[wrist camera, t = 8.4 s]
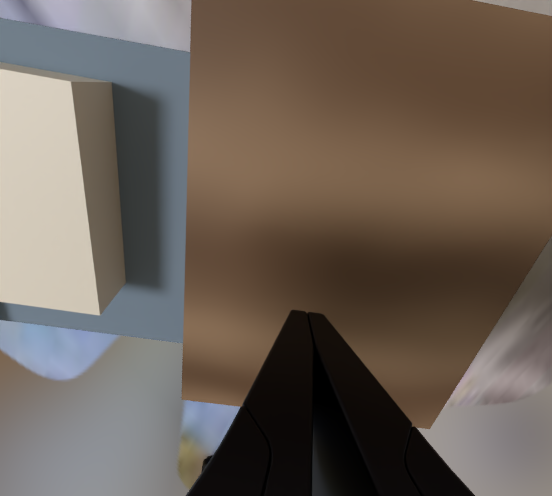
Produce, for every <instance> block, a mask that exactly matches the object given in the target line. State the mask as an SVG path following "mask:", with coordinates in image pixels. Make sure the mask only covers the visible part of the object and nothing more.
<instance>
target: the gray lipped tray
mask: <svg viewBox="0 0 552 496" xmlns="http://www.w3.org/2000/svg"><path fill="white" fill-rule="evenodd" d="M0 62H3V63H9V64H14V65H20V66H25V67H31V68H36V69H42V70H47V71H53V72H59V73H64V74H70V75H75V76H81V77H86V78H92V79H97V80H103V81H108V82H112V95H113V109H114V123H115V137H116V151H117V165H118V179H119V194H120V208H121V222H122V236H123V250H124V264H125V278H126V283H125V285H124V286H123V287H122V288H121V290H120V291H119V292H118V293H117V295H116V296H115V297H114V298H113V300H112V301H111V302H110V304H109V305H108V306H107V307H106V309H105V310H104V311H103V312H102V314H101V315H92V314H85V313H78V312H71V311H63V310H56V309H49V308H42V307H34V306H27V305H20V304H12V303H5V302H0V320H6V321H14V322H22V323H30V324H37V325H45V326H53V327H61V328H68V329H76V330H84V331H92V332H99V333H107V334H115V335H123V336H131V337H139V338H146V339H154V340H162V341H169V342H177V343H183V325H184V285H185V245H186V205H187V165H188V125H189V85H190V52H185V51H179V50H174V49H168V48H163V47H157V46H152V45H146V44H141V43H135V42H129V41H124V40H118V39H113V38H107V37H102V36H96V35H91V34H85V33H80V32H74V31H69V30H63V29H58V28H52V27H46V26H41V25H35V24H30V23H24V22H19V21H13V20H8V19H2V18H0Z"/></svg>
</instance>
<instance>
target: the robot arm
mask: <svg viewBox="0 0 552 496" xmlns="http://www.w3.org/2000/svg"><path fill="white" fill-rule="evenodd" d="M186 496H475V495H474V494H473V493H472V492H471V491H470V490H469V488H468V487H467V486H466V485H465V484H464V483H463V482H462V481H461V480H460V479H459V477H457V475H456V474H455V473H454V472H453V471H452V470H451V469H450V468H449V466H448V465H447V464H446V463H445V462H444V460H443V459H442V458H441V457H440V456H439V455H438V453H437V452H436V451H435V450H434V449H433V447H432V446H431V445H430V444H429V443H428V442H427V440H426V439H425V438H424V437H423V435H422V434H421V433H420V432H419V430H418V429H417V428H416V427H415V426H413V427H412V422H411V421H410V420H409V418H408V417H407V416H406V415H405V413H404V412H403V411H402V410H401V409H400V407H399V406H398V405H397V404H396V402H395V401H394V400H393V399H392V397H391V396H390V395H389V394H388V393H387V391H386V390H385V389H384V388H383V386H382V385H381V384H380V383H379V382H378V380H377V379H376V378H375V377H374V375H373V374H372V373H371V372H370V370H369V369H368V368H367V367H366V366H365V364H364V363H363V362H362V361H361V359H360V358H359V357H358V356H357V355H356V353H355V352H354V351H353V350H352V348H351V347H350V346H349V345H348V343H347V342H346V341H345V340H344V339H343V337H342V336H341V335H340V334H339V332H338V331H337V330H336V329H335V328H334V326H333V325H332V324H331V323H330V321H329V320H328V319H327V318H326V316H325V315H324V314H322V313H315V312H308V313H307V312H305V311H300V310H291V311H290V313H289V315H288V317H287V319H286V321H285V322H284V324H283V326H282V328H281V330H280V332H279V334H278V336H277V338H276V340H275V342H274V344H273V346H272V348H271V350H270V352H269V353H268V355H267V357H266V359H265V361H264V363H263V365H262V367H261V369H260V371H259V373H258V375H257V377H256V379H255V381H254V383H253V384H252V386H251V388H250V390H249V392H248V394H247V396H246V398H245V400H244V402H243V404H242V406H241V407H240V409H239V411H238V413H237V415H236V417H235V419H234V421H233V423H232V424H231V426H230V428H229V430H228V431H227V433H226V435H225V437H224V439H223V440H222V442H221V444H220V446H219V447H218V449H217V450H216V452H215V453H214V455H213V456H212V458H207V459H205V460H204V461H203V466H202V473H201V475H200V476H199V477H198V479H197V480H196V482H195V483H194V485H193V486H192V488H191V489H190V490H189V492H188V493H187V495H186Z"/></svg>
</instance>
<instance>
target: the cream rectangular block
mask: <svg viewBox="0 0 552 496" xmlns="http://www.w3.org/2000/svg"><path fill="white" fill-rule="evenodd" d="M125 283H126V278H125V264H124V250H123V236H122V222H121V208H120V194H119V179H118V165H117V151H116V137H115V123H114V109H113V95H112V82H108V81H103V80H97V79H92V78H86V77H81V76H75V75H70V74H64V73H59V72H53V71H47V70H42V69H36V68H31V67H25V66H20V65H14V64H9V63H3V62H0V302H5V303H12V304H20V305H27V306H34V307H42V308H49V309H56V310H63V311H71V312H78V313H85V314H92V315H101V314H102V312H103V311H104V310H105V309H106V307H107V306H108V305H109V304H110V302H111V301H112V300H113V298H114V297H115V296H116V295H117V293H118V292H119V291H120V290H121V288H122V287H123V286H124V285H125Z"/></svg>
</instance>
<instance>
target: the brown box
mask: <svg viewBox="0 0 552 496" xmlns="http://www.w3.org/2000/svg"><path fill="white" fill-rule="evenodd" d="M551 236H552V16H548V15H543V14H538V13H533V12H528V11H523V10H518V9H513V8H508V7H503V6H498V5H493V4H488V3H483V2H478V1H473V0H192V5H191V45H190V85H189V125H188V165H187V205H186V245H185V285H184V325H183V366H182V369H183V370H182V400H190V401H198V402H207V403H215V404H224V405H232V406H240V407H241V406H242V404H243V402H244V400H245V398H246V396H247V394H248V392H249V390H250V388H251V386H252V384H253V383H254V381H255V379H256V377H257V375H258V373H259V371H260V369H261V367H262V365H263V363H264V361H265V359H266V357H267V355H268V353H269V352H270V350H271V348H272V346H273V344H274V342H275V340H276V338H277V336H278V334H279V332H280V330H281V328H282V326H283V324H284V322H285V321H286V319H287V317H288V315H289V313H290V311H291V310H300V311H305V312H307V313H308V312H315V313H322V314H324V315H325V316H326V318H327V319H328V320H329V321H330V323H331V324H332V325H333V326H334V328H335V329H336V330H337V331H338V332H339V334H340V335H341V336H342V337H343V339H344V340H345V341H346V342H347V343H348V345H349V346H350V347H351V348H352V350H353V351H354V352H355V353H356V355H357V356H358V357H359V358H360V359H361V361H362V362H363V363H364V364H365V366H366V367H367V368H368V369H369V370H370V372H371V373H372V374H373V375H374V377H375V378H376V379H377V380H378V382H379V383H380V384H381V385H382V386H383V388H384V389H385V390H386V391H387V393H388V394H389V395H390V396H391V397H392V399H393V400H394V401H395V402H396V404H397V405H398V406H399V407H400V409H401V410H402V411H403V412H404V413H405V415H406V416H407V417H408V418H409V420H410V421H411V422H412V427H413V426H415V427H417V428H425V429H430V428H431V426H432V424H433V423H434V421H435V420H436V418H437V417H438V415H439V413H440V412H441V410H442V409H443V407H444V405H445V404H446V402H447V401H448V399H449V398H450V396H451V394H452V393H453V391H454V390H455V388H456V386H457V385H458V383H459V382H460V380H461V378H462V377H463V375H464V374H465V372H466V371H467V369H468V367H469V366H470V364H471V363H472V361H473V359H474V358H475V356H476V355H477V353H478V352H479V350H480V348H481V347H482V345H483V344H484V342H485V340H486V339H487V337H488V336H489V334H490V332H491V331H492V329H493V328H494V326H495V325H496V323H497V321H498V320H499V318H500V317H501V315H502V313H503V312H504V310H505V309H506V307H507V306H508V304H509V302H510V301H511V299H512V298H513V296H514V294H515V293H516V291H517V290H518V288H519V287H520V285H521V283H522V282H523V280H524V279H525V277H526V275H527V274H528V272H529V271H530V269H531V267H532V266H533V264H534V263H535V261H536V260H537V258H538V256H539V255H540V253H541V252H542V250H543V248H544V247H545V245H546V244H547V242H548V241H549V239H550V237H551Z"/></svg>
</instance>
